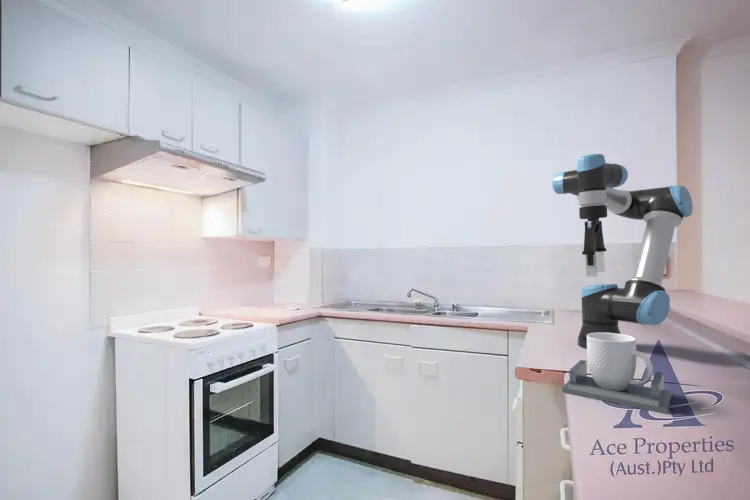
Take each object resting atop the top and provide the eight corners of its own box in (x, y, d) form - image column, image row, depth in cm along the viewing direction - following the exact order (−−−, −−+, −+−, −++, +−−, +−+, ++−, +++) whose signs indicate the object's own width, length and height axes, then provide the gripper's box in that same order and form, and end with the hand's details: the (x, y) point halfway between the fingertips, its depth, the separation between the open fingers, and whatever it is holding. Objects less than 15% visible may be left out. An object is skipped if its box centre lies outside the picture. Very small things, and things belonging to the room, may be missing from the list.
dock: (575, 378, 112) (574, 359, 112) (671, 396, 98) (671, 373, 98) (562, 392, 102) (561, 370, 102) (666, 413, 88) (666, 388, 88)
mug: (662, 392, 97) (661, 340, 97) (642, 403, 91) (641, 347, 91) (600, 377, 109) (599, 330, 109) (579, 385, 103) (578, 336, 103)
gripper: (587, 208, 133) (589, 270, 133) (570, 205, 113) (573, 278, 114) (612, 205, 128) (615, 270, 129) (599, 202, 109) (602, 278, 109)
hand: (595, 274), depth 121 cm, fingers open, 13 cm apart
